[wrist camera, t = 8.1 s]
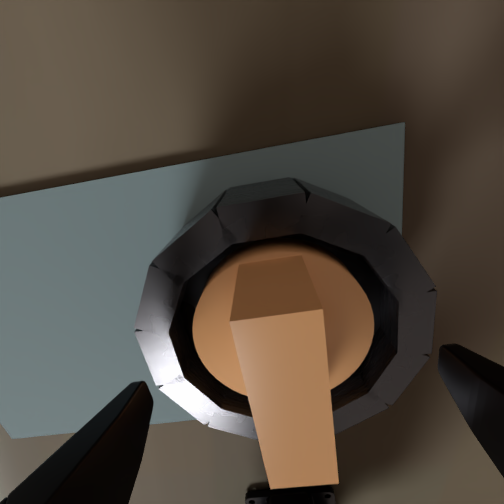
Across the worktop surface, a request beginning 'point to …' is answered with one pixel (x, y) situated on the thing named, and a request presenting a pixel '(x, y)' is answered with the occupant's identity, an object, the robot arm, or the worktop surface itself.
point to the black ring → (299, 227)
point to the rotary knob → (285, 347)
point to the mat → (135, 267)
